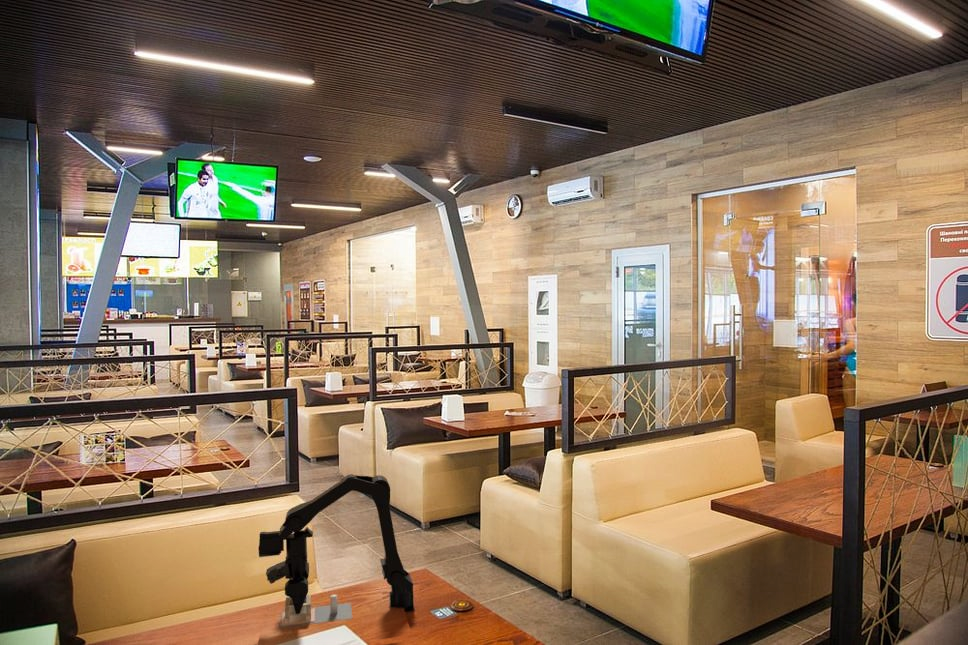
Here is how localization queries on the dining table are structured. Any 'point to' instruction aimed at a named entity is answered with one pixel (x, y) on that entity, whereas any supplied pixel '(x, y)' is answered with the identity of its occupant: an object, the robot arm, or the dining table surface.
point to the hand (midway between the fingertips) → (298, 606)
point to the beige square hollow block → (291, 614)
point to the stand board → (323, 614)
